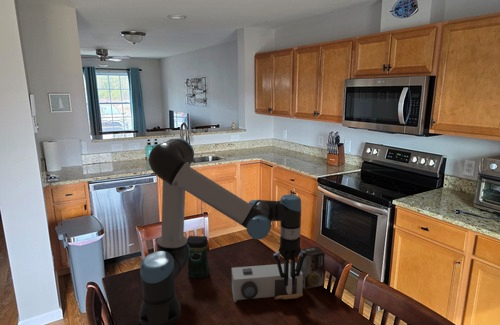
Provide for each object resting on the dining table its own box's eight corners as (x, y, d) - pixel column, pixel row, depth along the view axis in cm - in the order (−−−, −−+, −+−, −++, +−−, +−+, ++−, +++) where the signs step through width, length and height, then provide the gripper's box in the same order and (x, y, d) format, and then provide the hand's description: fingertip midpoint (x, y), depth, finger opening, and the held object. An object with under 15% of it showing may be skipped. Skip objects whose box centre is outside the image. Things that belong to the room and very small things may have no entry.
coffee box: (316, 279, 148) (317, 245, 145) (323, 287, 142) (325, 252, 139) (297, 283, 145) (298, 248, 142) (304, 291, 139) (305, 255, 136)
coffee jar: (210, 270, 156) (209, 233, 152) (207, 279, 148) (205, 241, 144) (190, 269, 157) (188, 232, 153) (185, 278, 149) (184, 240, 145)
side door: (274, 301, 133) (278, 299, 126) (274, 297, 133) (278, 295, 126) (298, 299, 134) (303, 297, 127) (297, 295, 135) (302, 293, 128)
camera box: (234, 306, 130) (234, 280, 128) (231, 289, 141) (231, 265, 138) (303, 299, 134) (304, 274, 132) (295, 283, 145) (296, 260, 143)
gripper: (275, 241, 120) (274, 299, 125) (310, 239, 122) (308, 296, 127) (271, 233, 127) (270, 288, 132) (303, 230, 129) (302, 285, 134)
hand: (288, 292), depth 130 cm, fingers closed
